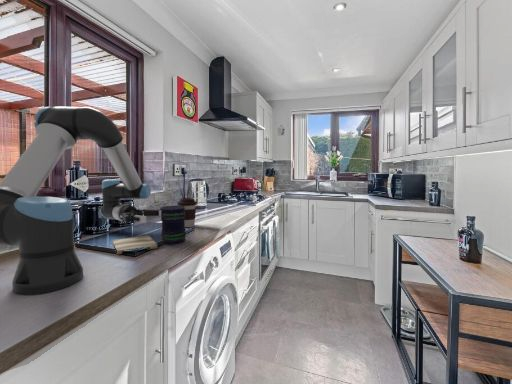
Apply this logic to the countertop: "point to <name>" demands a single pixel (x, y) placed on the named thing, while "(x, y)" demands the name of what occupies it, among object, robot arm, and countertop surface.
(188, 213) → the coffee cup
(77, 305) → the countertop surface
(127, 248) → the birch board
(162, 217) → the storage jar
